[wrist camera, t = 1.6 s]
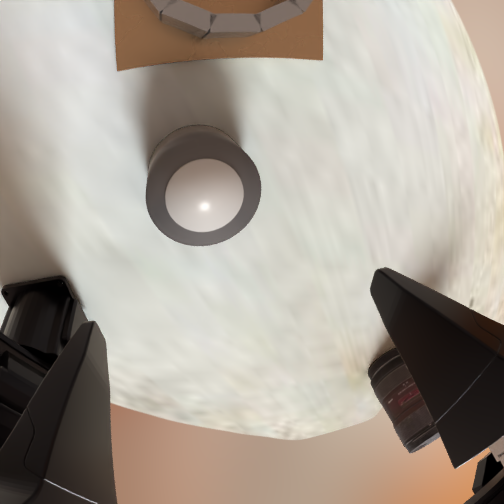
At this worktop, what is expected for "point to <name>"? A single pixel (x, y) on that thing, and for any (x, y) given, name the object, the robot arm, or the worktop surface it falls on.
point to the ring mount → (216, 30)
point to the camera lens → (402, 401)
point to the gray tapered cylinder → (201, 186)
